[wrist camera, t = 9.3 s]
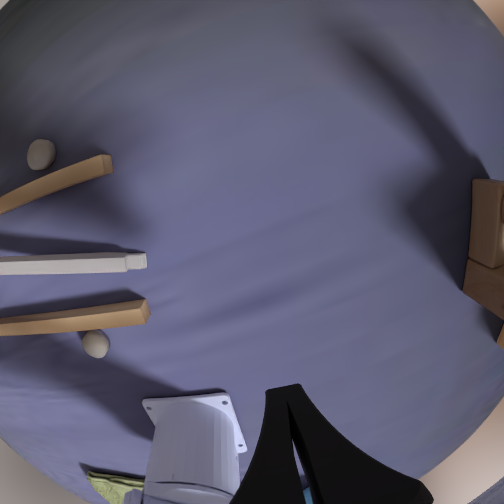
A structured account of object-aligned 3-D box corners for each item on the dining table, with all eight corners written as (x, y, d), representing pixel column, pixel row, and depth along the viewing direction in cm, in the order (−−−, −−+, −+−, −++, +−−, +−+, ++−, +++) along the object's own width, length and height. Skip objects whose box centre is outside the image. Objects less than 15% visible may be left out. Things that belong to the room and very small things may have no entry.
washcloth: (165, 475, 27) (163, 494, 24) (195, 516, 32) (195, 530, 29) (82, 462, 26) (77, 478, 23) (127, 508, 31) (125, 521, 28)
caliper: (-29, 258, 17) (-69, 281, 11) (-31, 247, 17) (-72, 268, 11) (148, 265, 19) (117, 307, 13) (147, 250, 19) (114, 287, 13)
